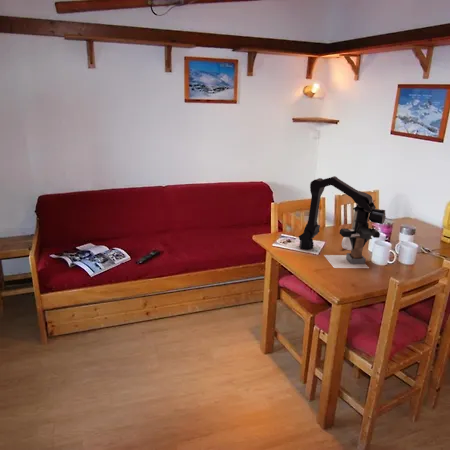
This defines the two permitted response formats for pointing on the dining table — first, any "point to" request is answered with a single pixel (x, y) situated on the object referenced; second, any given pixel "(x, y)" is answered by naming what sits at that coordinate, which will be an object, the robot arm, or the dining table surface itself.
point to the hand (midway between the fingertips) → (357, 248)
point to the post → (357, 248)
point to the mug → (347, 242)
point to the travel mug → (354, 218)
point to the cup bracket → (355, 259)
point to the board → (342, 262)
